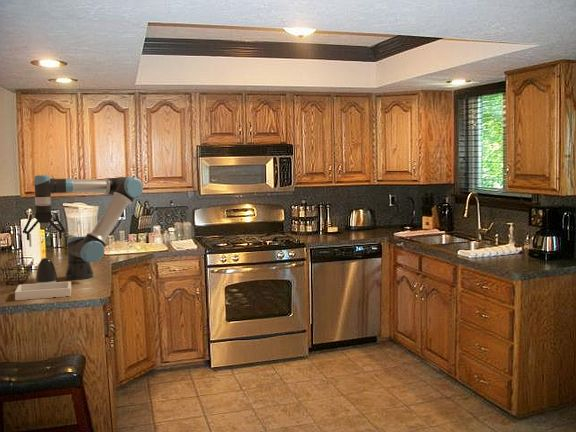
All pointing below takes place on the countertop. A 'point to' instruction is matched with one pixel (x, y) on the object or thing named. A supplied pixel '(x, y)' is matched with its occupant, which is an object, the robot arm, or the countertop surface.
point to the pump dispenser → (46, 272)
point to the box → (43, 290)
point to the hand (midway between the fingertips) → (44, 246)
